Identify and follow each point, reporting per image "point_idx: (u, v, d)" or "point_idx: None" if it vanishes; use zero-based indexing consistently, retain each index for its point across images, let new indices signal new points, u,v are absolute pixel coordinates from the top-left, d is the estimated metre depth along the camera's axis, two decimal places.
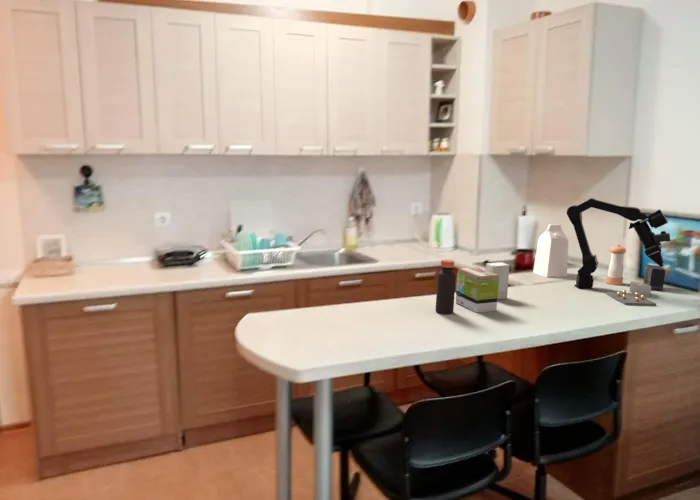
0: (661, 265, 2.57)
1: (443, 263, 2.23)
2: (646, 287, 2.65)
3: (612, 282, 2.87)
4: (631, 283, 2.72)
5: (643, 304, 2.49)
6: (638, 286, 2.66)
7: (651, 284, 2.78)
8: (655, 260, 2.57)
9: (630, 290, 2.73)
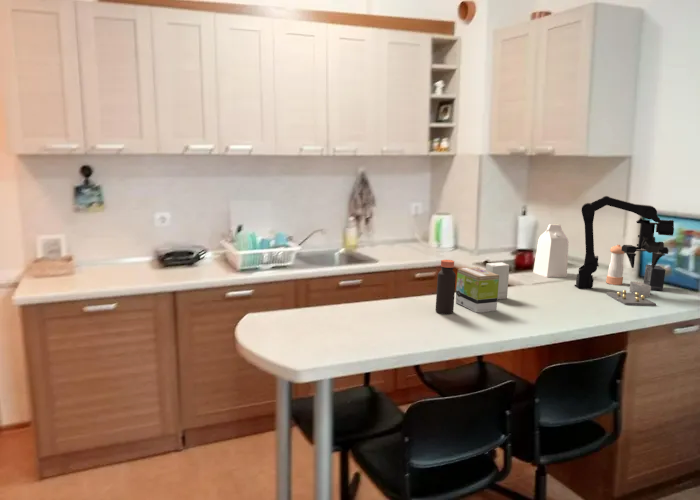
0: (631, 266, 2.67)
1: (443, 263, 2.23)
2: (646, 287, 2.65)
3: (612, 282, 2.87)
4: (631, 283, 2.72)
5: (643, 304, 2.49)
6: (638, 286, 2.66)
7: (651, 284, 2.78)
8: (629, 259, 2.68)
9: (630, 290, 2.73)
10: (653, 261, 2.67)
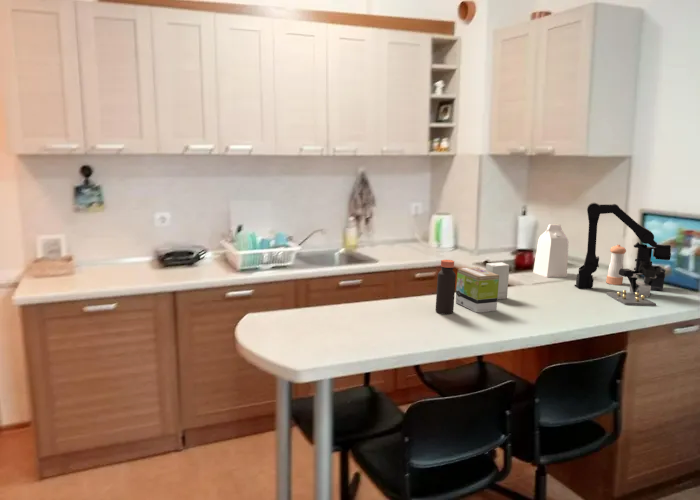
0: (633, 290, 2.69)
1: (443, 263, 2.23)
2: (646, 287, 2.65)
3: (612, 282, 2.87)
4: None
5: (643, 304, 2.49)
6: (638, 286, 2.66)
7: (651, 284, 2.78)
8: (630, 283, 2.70)
9: (630, 290, 2.73)
10: None
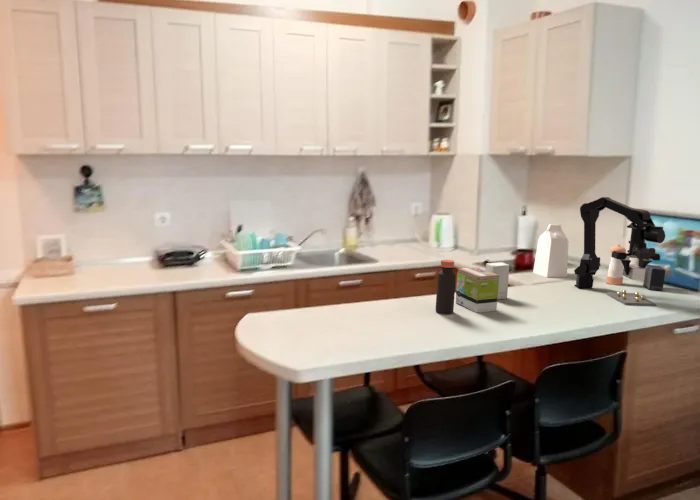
0: (626, 273, 2.56)
1: (443, 263, 2.23)
2: (640, 270, 2.51)
3: (612, 282, 2.87)
4: None
5: (643, 304, 2.49)
6: (631, 269, 2.52)
7: (651, 284, 2.78)
8: (624, 266, 2.56)
9: (624, 273, 2.59)
10: None
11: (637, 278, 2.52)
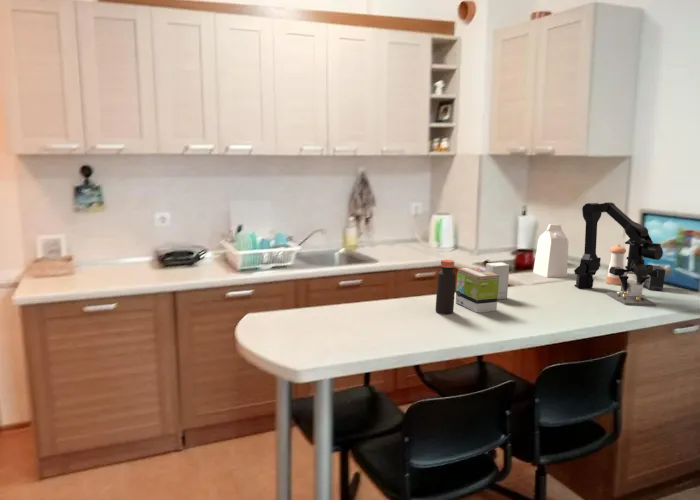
0: (624, 289, 2.57)
1: (443, 263, 2.23)
2: (638, 286, 2.52)
3: (612, 282, 2.87)
4: None
5: (643, 304, 2.49)
6: (629, 285, 2.53)
7: (651, 284, 2.78)
8: (622, 282, 2.57)
9: (621, 289, 2.60)
10: None
11: (635, 294, 2.53)
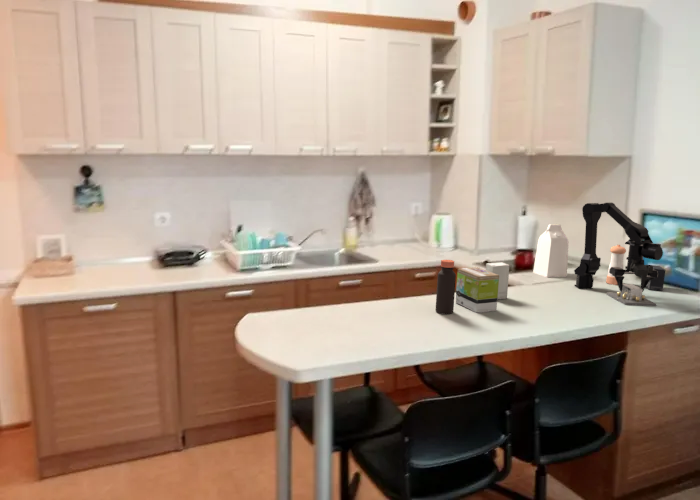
0: (619, 289, 2.57)
1: (443, 263, 2.23)
2: (637, 290, 2.52)
3: (612, 282, 2.87)
4: None
5: (643, 304, 2.49)
6: (629, 289, 2.54)
7: (651, 284, 2.78)
8: (617, 282, 2.57)
9: (621, 293, 2.61)
10: (642, 284, 2.57)
11: (634, 298, 2.53)
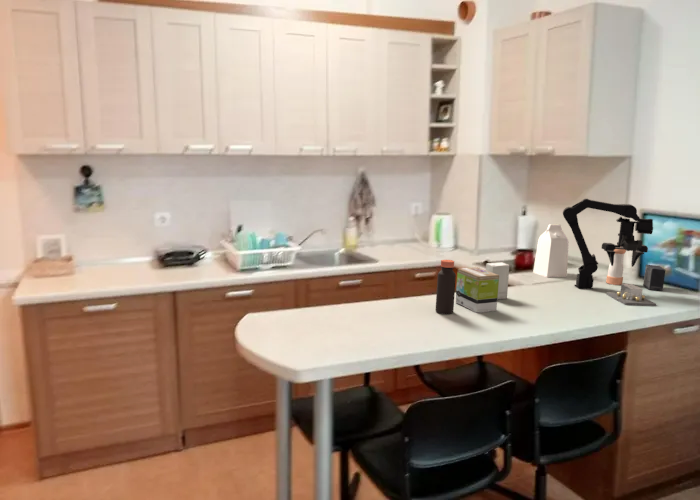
0: (611, 264, 2.72)
1: (443, 263, 2.23)
2: (637, 290, 2.52)
3: (612, 282, 2.87)
4: (622, 286, 2.60)
5: (643, 304, 2.49)
6: (629, 289, 2.54)
7: (651, 284, 2.78)
8: (609, 257, 2.72)
9: (621, 293, 2.61)
10: (633, 259, 2.71)
11: (634, 298, 2.53)
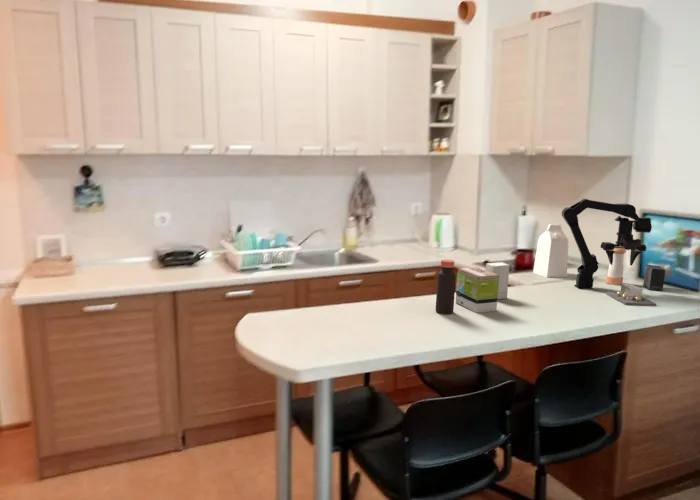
0: (610, 263, 2.73)
1: (443, 263, 2.23)
2: (637, 290, 2.52)
3: (612, 282, 2.87)
4: (622, 286, 2.60)
5: (643, 304, 2.49)
6: (629, 289, 2.54)
7: (651, 284, 2.78)
8: (608, 256, 2.74)
9: (621, 293, 2.61)
10: (631, 258, 2.73)
11: (634, 298, 2.53)
